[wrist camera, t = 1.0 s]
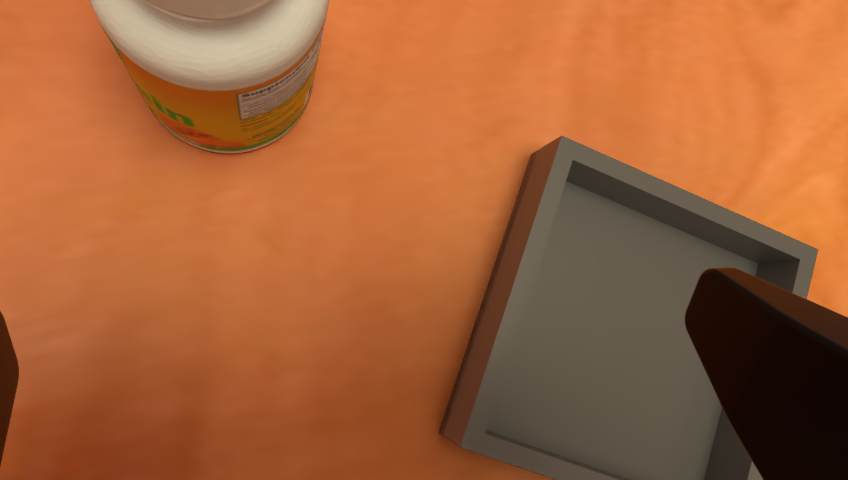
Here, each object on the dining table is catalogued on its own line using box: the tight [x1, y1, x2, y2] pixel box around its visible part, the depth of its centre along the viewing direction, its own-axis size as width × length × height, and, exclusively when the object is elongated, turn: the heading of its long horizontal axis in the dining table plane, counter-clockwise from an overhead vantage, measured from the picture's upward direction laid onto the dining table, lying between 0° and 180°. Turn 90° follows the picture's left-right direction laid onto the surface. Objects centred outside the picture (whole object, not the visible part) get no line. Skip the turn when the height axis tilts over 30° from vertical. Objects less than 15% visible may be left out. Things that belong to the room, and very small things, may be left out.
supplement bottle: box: [90, 0, 329, 153], centre depth 17 cm, size 5×5×10 cm
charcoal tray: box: [439, 136, 818, 480], centre depth 22 cm, size 10×10×2 cm
